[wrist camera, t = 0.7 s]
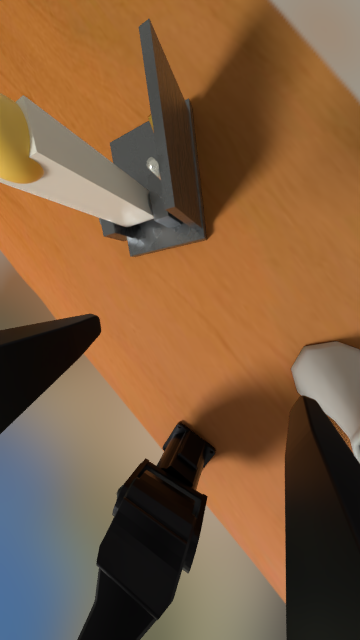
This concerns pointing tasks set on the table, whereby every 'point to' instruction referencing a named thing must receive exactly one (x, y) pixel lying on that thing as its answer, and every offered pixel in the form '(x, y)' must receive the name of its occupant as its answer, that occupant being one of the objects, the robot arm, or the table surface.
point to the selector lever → (65, 167)
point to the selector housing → (161, 162)
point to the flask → (332, 384)
